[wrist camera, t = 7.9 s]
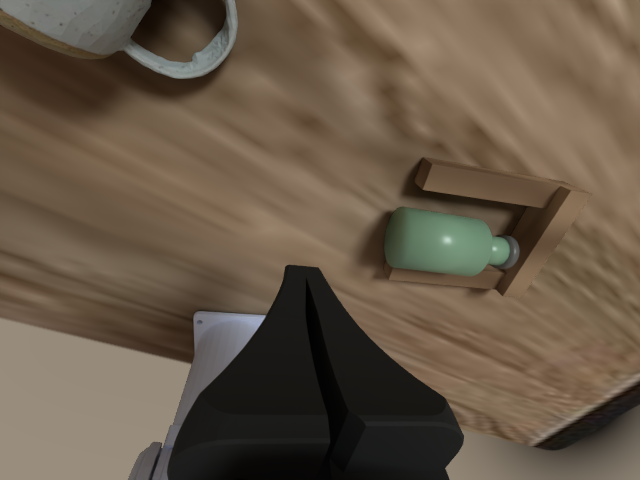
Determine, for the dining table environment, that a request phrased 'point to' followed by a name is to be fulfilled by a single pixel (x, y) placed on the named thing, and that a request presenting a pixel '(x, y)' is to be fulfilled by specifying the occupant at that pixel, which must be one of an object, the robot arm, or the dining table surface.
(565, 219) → the cradle
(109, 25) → the ceramic mug
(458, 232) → the bottle
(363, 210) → the dining table surface
